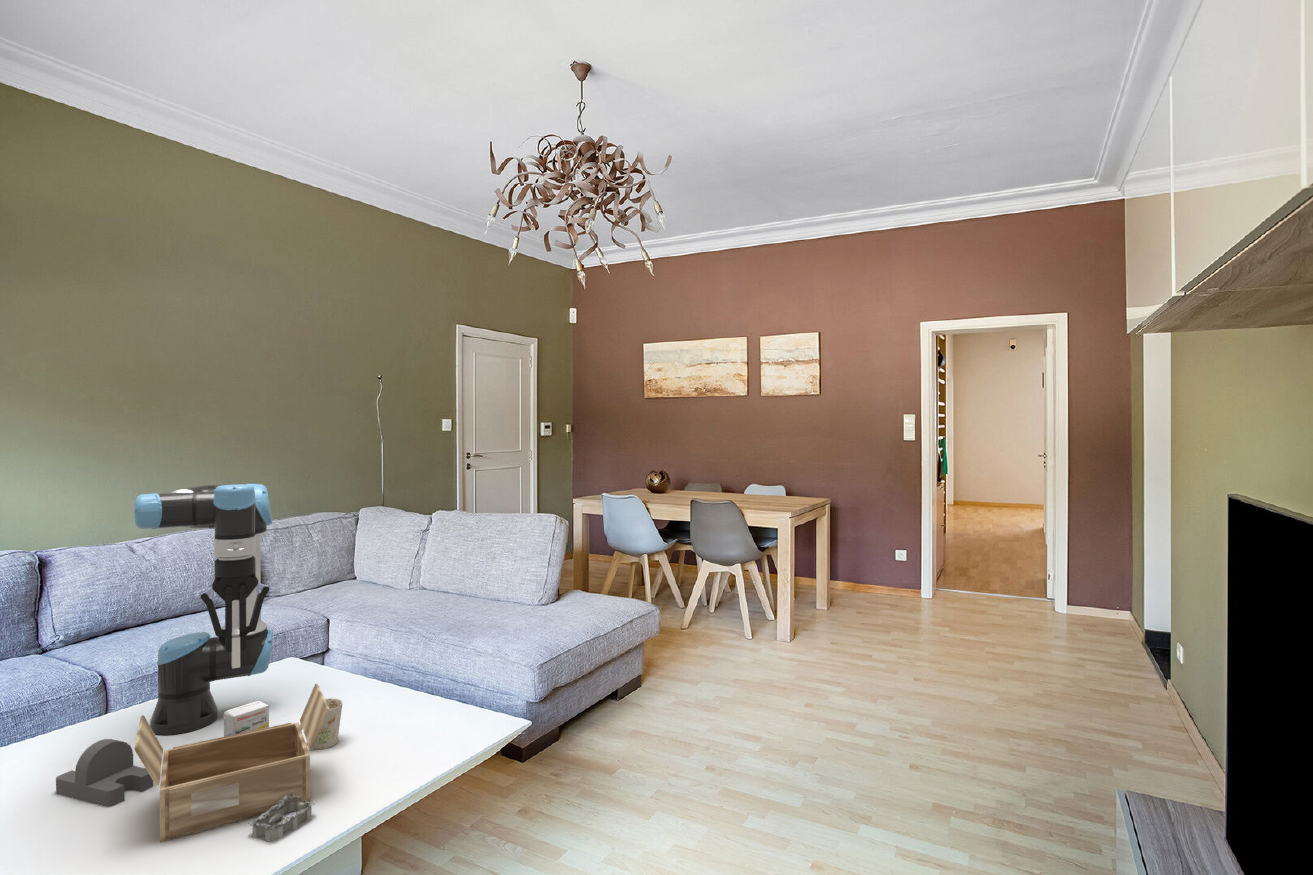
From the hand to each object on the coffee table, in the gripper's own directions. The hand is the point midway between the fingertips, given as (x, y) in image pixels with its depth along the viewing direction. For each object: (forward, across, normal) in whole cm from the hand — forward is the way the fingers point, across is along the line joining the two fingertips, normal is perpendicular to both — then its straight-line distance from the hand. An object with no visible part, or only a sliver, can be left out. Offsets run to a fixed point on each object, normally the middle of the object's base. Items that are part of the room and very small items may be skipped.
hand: (235, 665), depth 148 cm
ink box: (+29, +3, +21) cm, 36 cm away
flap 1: (+14, -15, -1) cm, 20 cm away
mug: (+29, +18, +16) cm, 38 cm away
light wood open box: (+29, 0, -1) cm, 29 cm away
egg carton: (+29, +7, -17) cm, 34 cm away
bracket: (+29, -24, +20) cm, 43 cm away
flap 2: (+14, +15, -1) cm, 20 cm away
